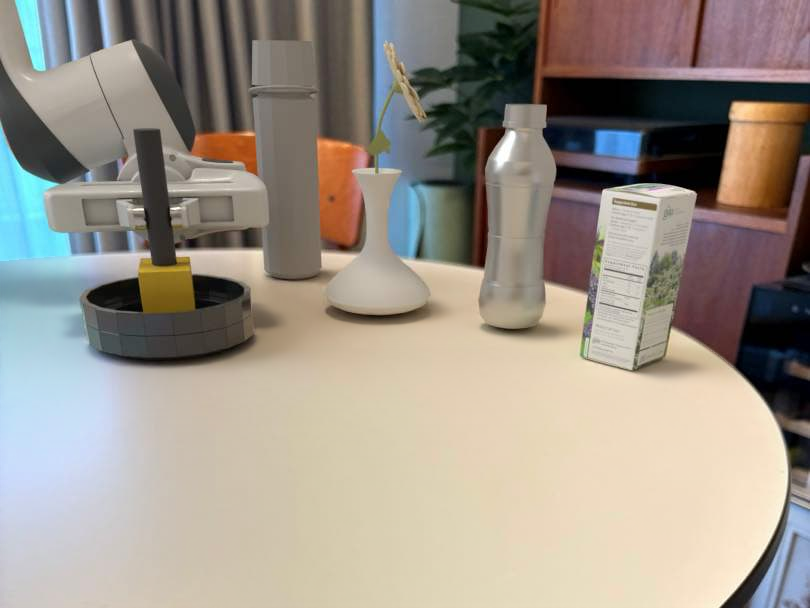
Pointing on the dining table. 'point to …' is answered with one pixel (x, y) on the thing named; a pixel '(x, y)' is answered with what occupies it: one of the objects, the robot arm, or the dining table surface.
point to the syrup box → (636, 273)
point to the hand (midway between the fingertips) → (158, 218)
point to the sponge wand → (160, 234)
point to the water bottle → (287, 155)
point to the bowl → (167, 320)
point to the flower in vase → (380, 231)
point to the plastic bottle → (517, 220)
